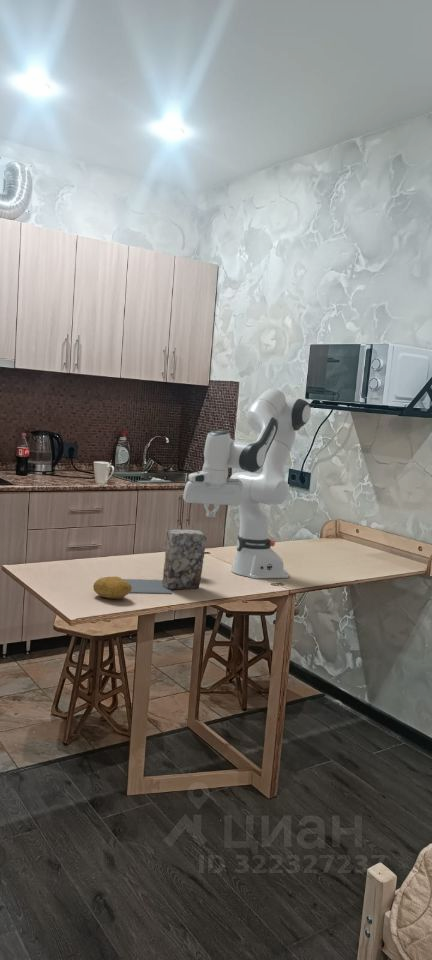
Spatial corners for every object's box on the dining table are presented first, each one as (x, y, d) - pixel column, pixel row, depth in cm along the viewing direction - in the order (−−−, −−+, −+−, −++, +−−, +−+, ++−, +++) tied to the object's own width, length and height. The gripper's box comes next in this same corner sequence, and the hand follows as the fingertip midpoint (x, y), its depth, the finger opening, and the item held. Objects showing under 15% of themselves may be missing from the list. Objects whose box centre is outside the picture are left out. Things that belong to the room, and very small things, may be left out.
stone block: (169, 590, 241) (176, 533, 239) (159, 585, 247) (166, 528, 245) (201, 589, 249) (209, 533, 246) (191, 583, 254) (198, 528, 252)
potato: (109, 591, 236) (111, 570, 235) (136, 600, 228) (138, 579, 227) (88, 595, 229) (89, 574, 228) (115, 605, 221) (116, 584, 220)
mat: (164, 581, 254) (164, 580, 254) (171, 594, 239) (172, 592, 239) (111, 579, 250) (111, 578, 250) (115, 592, 234) (115, 591, 234)
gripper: (240, 478, 251) (236, 516, 252) (184, 474, 246) (180, 513, 247) (245, 480, 245) (241, 520, 246) (187, 476, 240) (184, 516, 241)
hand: (210, 516), depth 247 cm, fingers closed
